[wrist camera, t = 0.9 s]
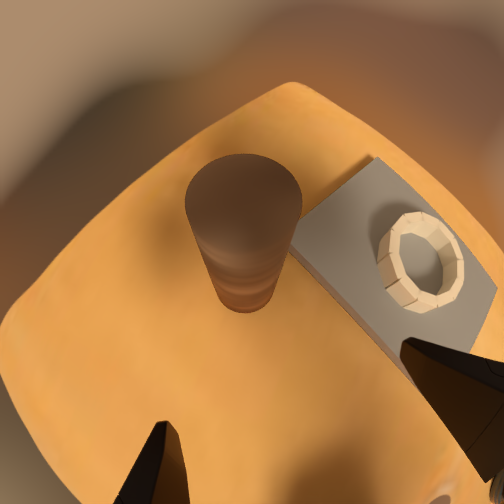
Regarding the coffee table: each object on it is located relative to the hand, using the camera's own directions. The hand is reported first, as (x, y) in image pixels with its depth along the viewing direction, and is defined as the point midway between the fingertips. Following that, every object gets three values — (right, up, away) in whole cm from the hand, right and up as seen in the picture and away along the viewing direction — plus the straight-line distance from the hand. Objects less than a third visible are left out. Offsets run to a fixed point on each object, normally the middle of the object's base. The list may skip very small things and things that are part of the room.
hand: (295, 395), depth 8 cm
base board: (+14, +3, +16) cm, 21 cm away
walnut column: (-2, +2, +15) cm, 15 cm away
